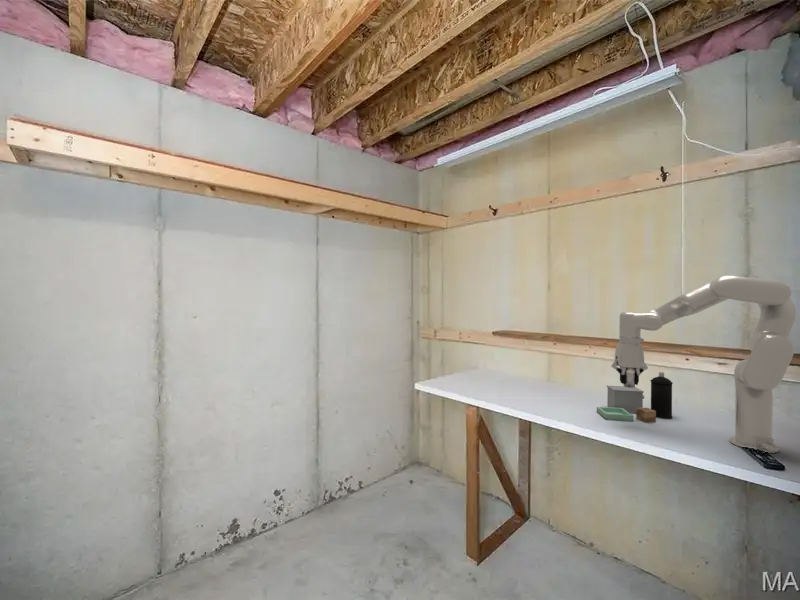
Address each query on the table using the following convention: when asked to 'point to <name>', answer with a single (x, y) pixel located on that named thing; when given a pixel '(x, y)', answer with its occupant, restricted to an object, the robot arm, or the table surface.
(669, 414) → the aerosol can
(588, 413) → the table surface
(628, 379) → the fuse
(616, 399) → the box
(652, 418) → the walnut block
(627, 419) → the tray
